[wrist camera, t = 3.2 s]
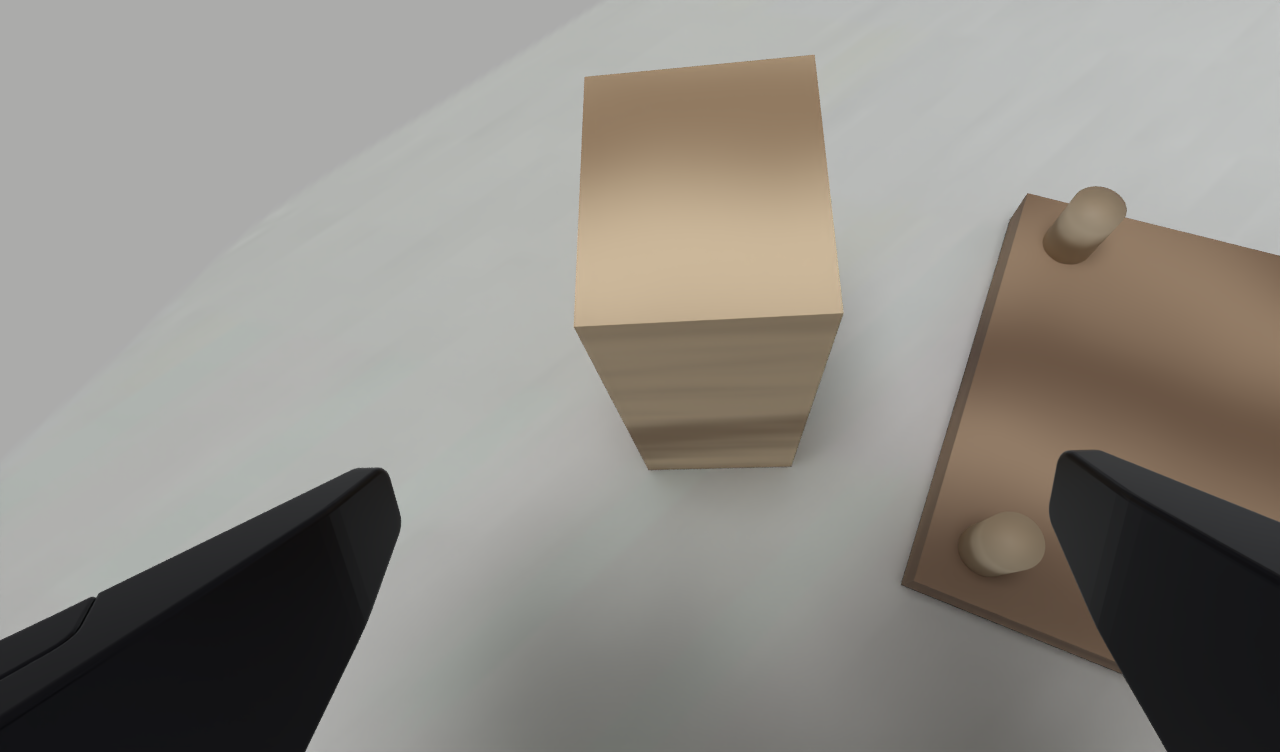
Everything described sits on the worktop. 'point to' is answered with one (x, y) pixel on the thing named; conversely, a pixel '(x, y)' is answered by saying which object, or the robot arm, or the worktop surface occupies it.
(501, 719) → the worktop surface
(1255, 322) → the peg stand
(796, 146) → the tall wooden block
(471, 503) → the worktop surface
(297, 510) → the robot arm
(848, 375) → the worktop surface
